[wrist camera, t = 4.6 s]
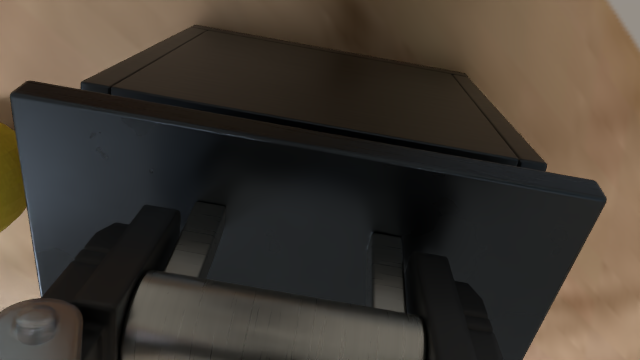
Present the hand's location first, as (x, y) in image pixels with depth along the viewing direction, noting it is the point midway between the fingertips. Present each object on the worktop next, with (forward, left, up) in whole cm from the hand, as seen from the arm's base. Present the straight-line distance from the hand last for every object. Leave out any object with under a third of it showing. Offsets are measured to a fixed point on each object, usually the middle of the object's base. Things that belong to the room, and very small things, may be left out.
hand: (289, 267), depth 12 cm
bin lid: (+4, 0, -2) cm, 5 cm away
